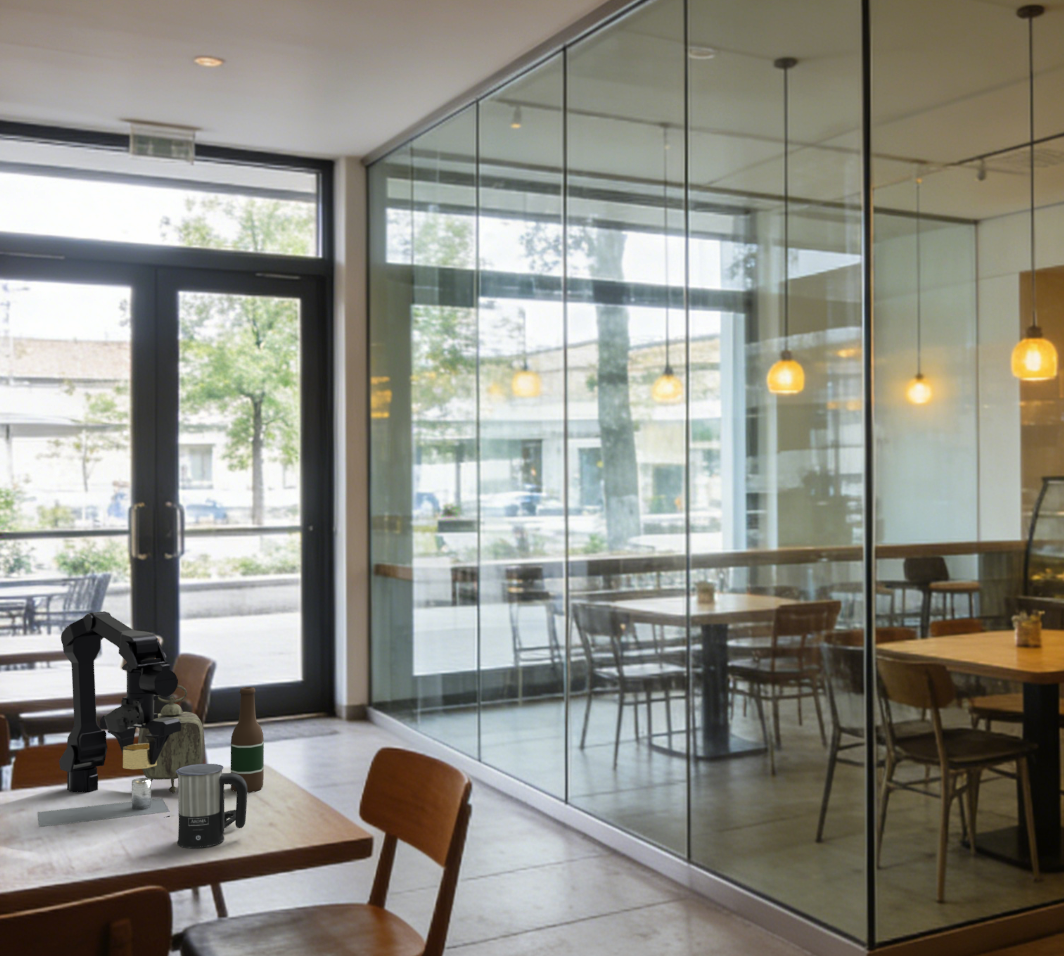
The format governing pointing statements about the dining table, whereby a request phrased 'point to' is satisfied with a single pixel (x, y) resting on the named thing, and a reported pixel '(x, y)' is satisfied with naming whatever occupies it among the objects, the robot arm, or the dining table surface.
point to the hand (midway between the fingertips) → (140, 762)
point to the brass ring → (137, 756)
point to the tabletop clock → (176, 743)
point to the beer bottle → (248, 744)
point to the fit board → (109, 808)
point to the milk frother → (207, 804)
